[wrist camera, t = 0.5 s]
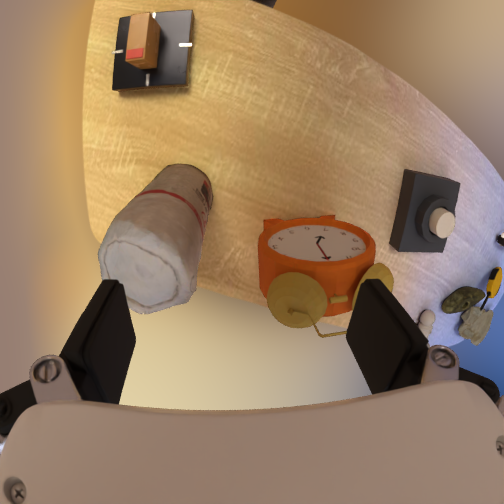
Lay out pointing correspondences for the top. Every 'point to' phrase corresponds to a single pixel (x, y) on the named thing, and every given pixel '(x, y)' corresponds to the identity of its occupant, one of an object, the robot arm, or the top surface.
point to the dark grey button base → (421, 211)
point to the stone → (475, 324)
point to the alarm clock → (315, 268)
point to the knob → (143, 41)
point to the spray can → (159, 240)
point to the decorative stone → (462, 300)
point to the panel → (169, 54)
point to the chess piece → (426, 323)
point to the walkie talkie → (493, 284)
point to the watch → (501, 239)
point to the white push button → (441, 222)
